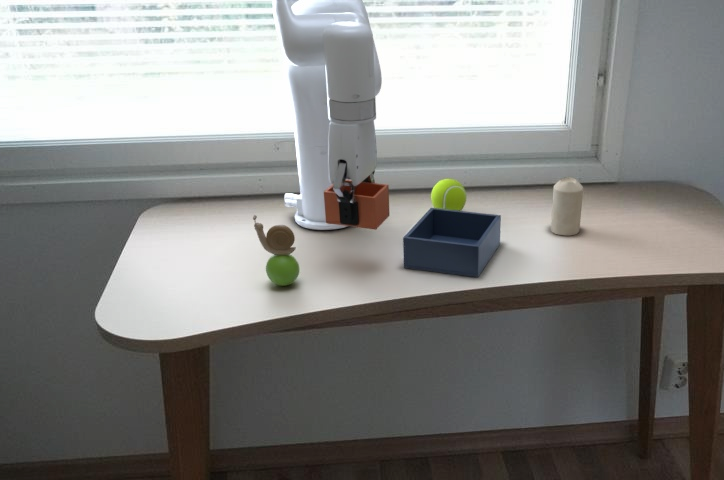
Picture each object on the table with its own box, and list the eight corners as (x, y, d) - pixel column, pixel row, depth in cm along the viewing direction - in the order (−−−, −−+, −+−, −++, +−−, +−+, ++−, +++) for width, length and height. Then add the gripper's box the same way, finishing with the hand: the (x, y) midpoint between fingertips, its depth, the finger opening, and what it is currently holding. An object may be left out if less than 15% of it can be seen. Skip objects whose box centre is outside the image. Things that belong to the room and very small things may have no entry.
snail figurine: (263, 278, 141) (254, 209, 134) (302, 276, 141) (294, 208, 135) (260, 291, 136) (250, 222, 130) (299, 290, 137) (292, 220, 130)
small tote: (325, 223, 140) (323, 191, 137) (341, 209, 145) (339, 178, 142) (375, 229, 138) (374, 198, 135) (389, 215, 143) (388, 184, 140)
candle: (578, 237, 157) (582, 185, 152) (549, 234, 158) (552, 183, 152) (580, 226, 162) (585, 175, 156) (552, 224, 162) (555, 173, 157)
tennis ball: (425, 211, 168) (424, 177, 164) (454, 205, 171) (454, 172, 167) (442, 222, 163) (442, 187, 159) (472, 216, 166) (473, 181, 162)
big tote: (403, 267, 145) (402, 237, 142) (431, 236, 157) (430, 207, 154) (478, 277, 141) (478, 246, 138) (499, 244, 154) (501, 215, 151)
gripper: (351, 92, 139) (356, 196, 149) (306, 121, 125) (316, 232, 135) (393, 97, 137) (396, 201, 147) (353, 126, 123) (359, 238, 133)
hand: (357, 215), depth 141 cm, fingers closed on small tote, 6 cm apart
